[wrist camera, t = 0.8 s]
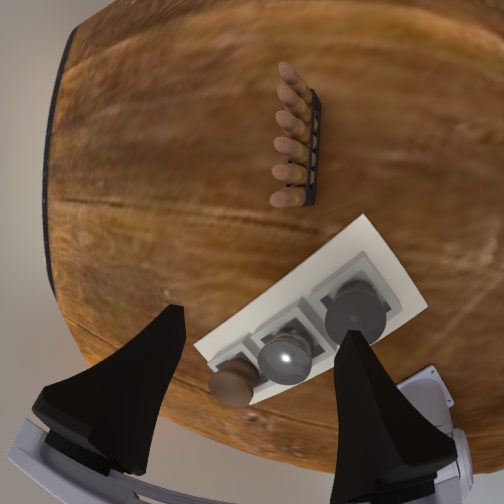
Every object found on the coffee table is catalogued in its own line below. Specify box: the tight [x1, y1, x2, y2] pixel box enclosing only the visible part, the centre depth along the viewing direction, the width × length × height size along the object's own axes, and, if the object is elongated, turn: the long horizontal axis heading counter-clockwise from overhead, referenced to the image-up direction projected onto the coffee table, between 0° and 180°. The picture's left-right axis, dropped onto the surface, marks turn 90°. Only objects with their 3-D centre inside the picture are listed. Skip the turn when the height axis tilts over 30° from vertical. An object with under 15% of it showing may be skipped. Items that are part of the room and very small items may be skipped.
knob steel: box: [257, 327, 314, 385], centre depth 25 cm, size 5×5×4 cm
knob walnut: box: [208, 358, 259, 408], centre depth 29 cm, size 5×5×4 cm
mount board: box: [194, 213, 428, 405], centre depth 29 cm, size 12×27×4 cm, turn 133°
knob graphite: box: [325, 282, 387, 345], centre depth 22 cm, size 5×5×4 cm
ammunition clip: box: [270, 62, 321, 208], centre depth 20 cm, size 11×2×12 cm, turn 176°
